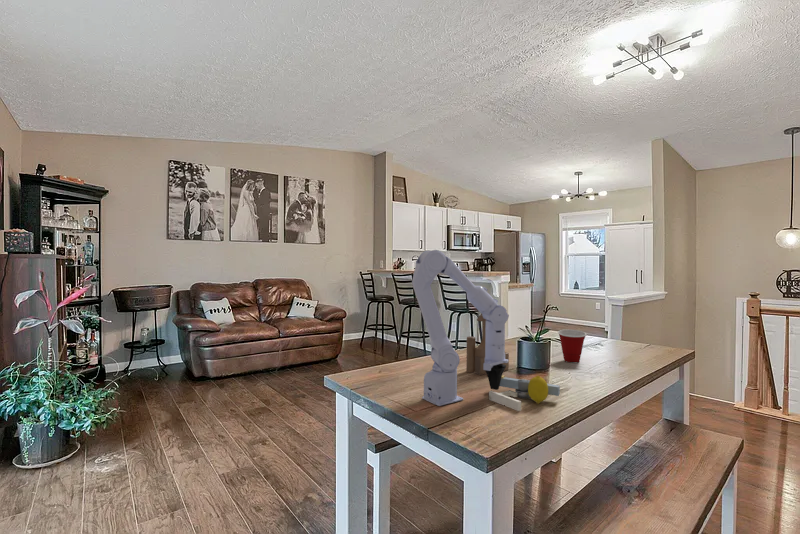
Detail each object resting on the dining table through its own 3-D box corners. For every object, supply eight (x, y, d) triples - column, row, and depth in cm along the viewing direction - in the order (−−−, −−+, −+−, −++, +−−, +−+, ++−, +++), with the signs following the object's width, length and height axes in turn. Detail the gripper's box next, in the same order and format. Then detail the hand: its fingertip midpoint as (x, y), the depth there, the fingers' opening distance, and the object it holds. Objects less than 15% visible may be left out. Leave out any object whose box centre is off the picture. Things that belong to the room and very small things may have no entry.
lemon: (535, 407, 114) (535, 379, 114) (524, 401, 119) (524, 373, 119) (552, 405, 116) (552, 377, 115) (540, 399, 121) (540, 372, 121)
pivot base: (525, 399, 120) (525, 394, 120) (511, 395, 125) (511, 389, 125) (536, 396, 123) (536, 391, 123) (522, 392, 127) (522, 386, 127)
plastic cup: (558, 363, 162) (558, 333, 162) (556, 357, 173) (556, 328, 172) (588, 365, 159) (588, 334, 159) (584, 359, 169) (584, 330, 169)
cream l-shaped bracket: (518, 411, 111) (518, 402, 111) (488, 399, 121) (489, 391, 120) (539, 404, 116) (540, 396, 116) (509, 394, 126) (509, 385, 125)
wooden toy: (496, 366, 158) (496, 301, 158) (508, 370, 153) (509, 303, 152) (464, 371, 151) (465, 303, 150) (476, 376, 145) (477, 305, 144)
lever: (557, 396, 117) (557, 386, 117) (490, 385, 128) (490, 375, 127) (560, 393, 120) (560, 383, 120) (493, 382, 131) (493, 373, 131)
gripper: (500, 350, 115) (500, 398, 115) (515, 341, 127) (514, 384, 128) (476, 347, 119) (476, 393, 119) (492, 338, 131) (492, 381, 131)
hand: (494, 388), depth 123 cm, fingers closed
